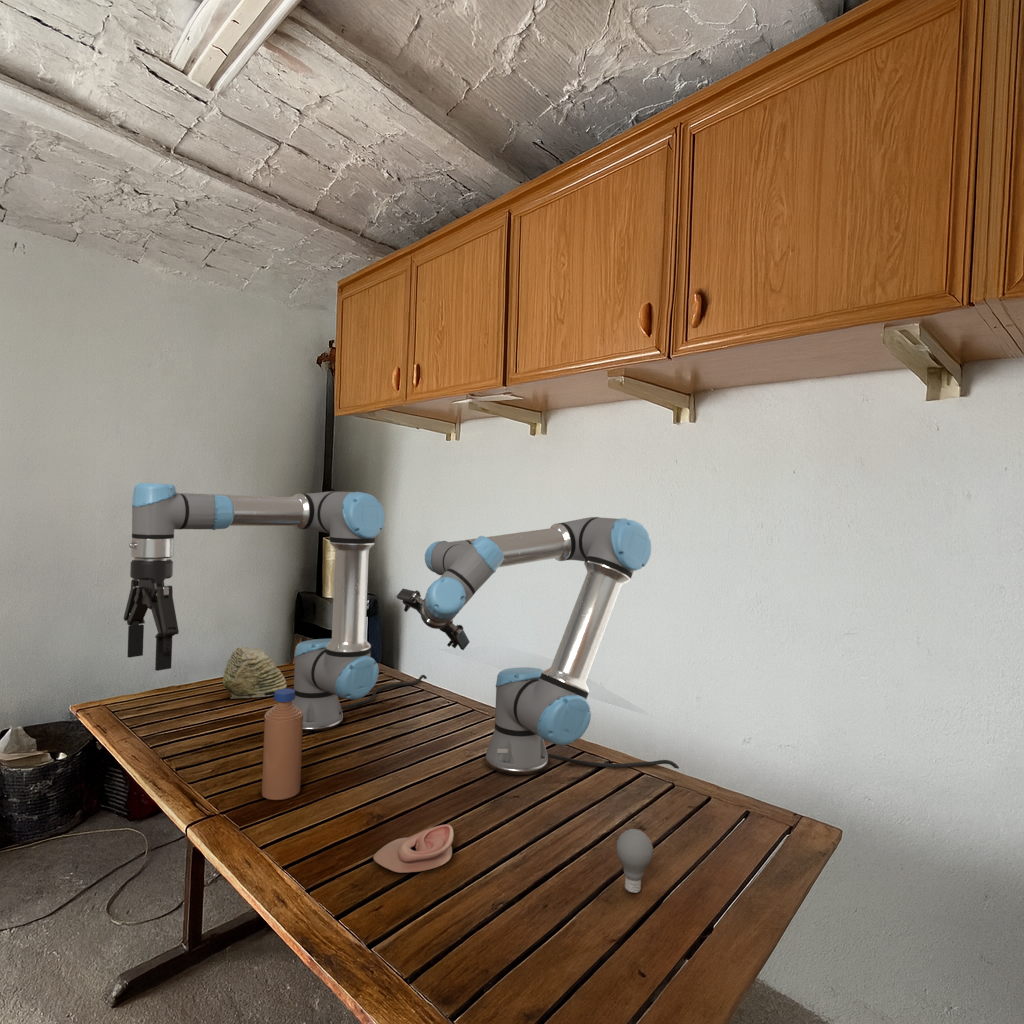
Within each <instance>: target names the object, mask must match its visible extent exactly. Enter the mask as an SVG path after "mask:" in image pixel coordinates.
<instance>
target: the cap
mask: <svg viewBox="0 0 1024 1024" xmlns="http://www.w3.org/2000/svg"><path fill="white" fill-rule="evenodd" d="M294 699H295V690H294V688H287V687H286V689H279V690H276V691H275V694H274V695H273V700H274V701H275V702H276V703H277V702H289V701H292V700H294Z"/></svg>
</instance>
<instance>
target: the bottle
mask: <svg viewBox="0 0 1024 1024" xmlns="http://www.w3.org/2000/svg"><path fill="white" fill-rule="evenodd" d="M302 731H303V712H302V710H301V709H300V708H298V707H297V706H296V705H294V704H293V703H292V701H289V702H277V701H276V704H275V705H274V706H272V707H270V708H269V709H268V710H267V711H266V712H265V714H264V718H263V744H262V746H263V747H262V770H261V771H262V772H261V796H262V797H263V798H265V799H267V800H272V801H280V800H287V799H290V798H293V797H295V796H296V795H299V793H300V792H301V780H302V757H303V755H302V754H303V752H302V751H303V732H302Z"/></svg>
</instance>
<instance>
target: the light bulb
mask: <svg viewBox="0 0 1024 1024" xmlns="http://www.w3.org/2000/svg"><path fill="white" fill-rule="evenodd" d="M615 849H616V854H617V857H618V859H619V861H620V863H621V865H622V867H623V873H624V874H623V875H624V876H625V878H624V888H625V890H627V891H628V892H630V893H634V894H635V893H639V892H640V891H641V889H642V887H641V886H642V879H643V877H644V875H645V871H646V868H647V867H648V866H649V864H650V863H651V861H652V859H653V855H654V847H653V843H652V841H651V838H649V836H648V835H647V834H646V833H645V832H643V831H642V830H641V829H636V828H629V829H627V830H625V831H623V832H622V833H621V834H620V835H619V837H618V839H617V841H616V847H615Z"/></svg>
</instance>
